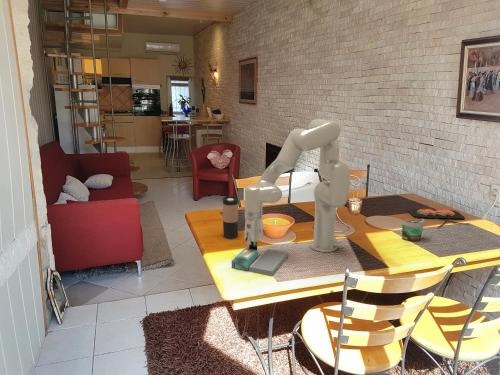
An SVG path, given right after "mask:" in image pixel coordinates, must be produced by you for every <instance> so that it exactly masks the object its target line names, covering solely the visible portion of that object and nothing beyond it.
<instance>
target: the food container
mask: <svg viewBox="0 0 500 375" xmlns="http://www.w3.org/2000/svg"><path fill="white" fill-rule="evenodd" d="M400 225H401V232H402V233H401V240H403V241H405V242H412V243H414V242H415V243H417V242H420V241H421V239H422V234H423V231H424V227H425V226H426V221H425V219H424V218H421V219H419V220H413V219H412V220H408V221H406V220H401V223H400Z"/></svg>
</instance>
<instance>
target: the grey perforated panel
mask: <svg viewBox="0 0 500 375" xmlns="http://www.w3.org/2000/svg"><path fill="white" fill-rule="evenodd" d="M246 248H247V249H249V245H248V246H247V247H246ZM288 257H289V252H288V251H282V250H275V249H271V248H266V249H265V250H264V251H263V252H262V253H261V254H260V255H259V256H258V258H257V259H256V260H255V262H254V263H253V264H252V265H251V266H250V267H249V272H250V273H255V274H260V275H266V276H270V277H273V276H274V274H275V273H276V272H277V271H278V270H279V268H280V267H281V266H282V265H283V264H284V262H285V261H286V260H287V258H288ZM231 268H232V269H236V268H235V257H234V259H232V260H231ZM277 269H278V270H277ZM272 275H273V276H272Z"/></svg>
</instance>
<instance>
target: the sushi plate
mask: <svg viewBox="0 0 500 375" xmlns="http://www.w3.org/2000/svg"><path fill="white" fill-rule="evenodd" d="M407 211H408V212H409V214H410V215H411V216H414V217H416V218H426V219H428V218H429V219H430V218H431V219H435V220H439V221H444V222H443V223H442V224H440V225H439V226H438V227H437V229H440V228H442V227H443V226H444V225H445V224H446V223H447V222H448V223H454V224H459V225H465V226H469V224H468V223H463V222H457V221H452V220H451V219H456V220H457V219H461V220H462V219H465V216H464V215H463V214H462V213H460V212H458V211H457V210H453V209H452V210H449V209H429V208H426V209H423V208H422V209H421V208H409V209H407Z"/></svg>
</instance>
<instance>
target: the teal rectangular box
mask: <svg viewBox="0 0 500 375" xmlns="http://www.w3.org/2000/svg"><path fill="white" fill-rule="evenodd" d="M258 252H259V250H258V249H257V250H253V249H247V247H244V248H243V249H242V250H241V251H239V253H237V255H235V256H234V258H235V268H234V269H238V270H243V271H246V272H248V271H249V267H250V266H251V265H252V264H253V263H254V262H255V260H256V259H257V258H258V257H259V256H258V255H259V254H258ZM249 272H250V271H249Z"/></svg>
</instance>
